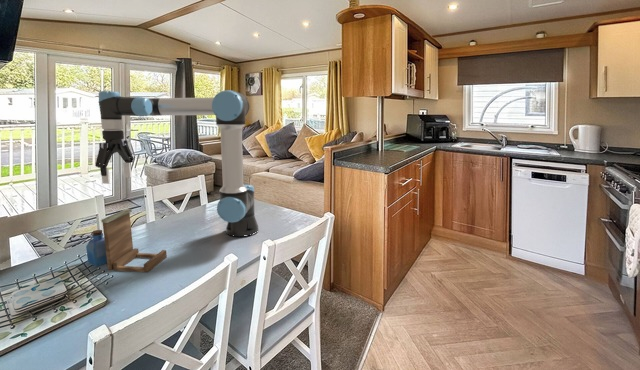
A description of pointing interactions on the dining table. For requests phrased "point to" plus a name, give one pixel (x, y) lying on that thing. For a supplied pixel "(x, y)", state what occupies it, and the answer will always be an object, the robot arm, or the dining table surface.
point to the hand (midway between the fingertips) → (117, 180)
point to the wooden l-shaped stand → (125, 244)
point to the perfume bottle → (96, 249)
